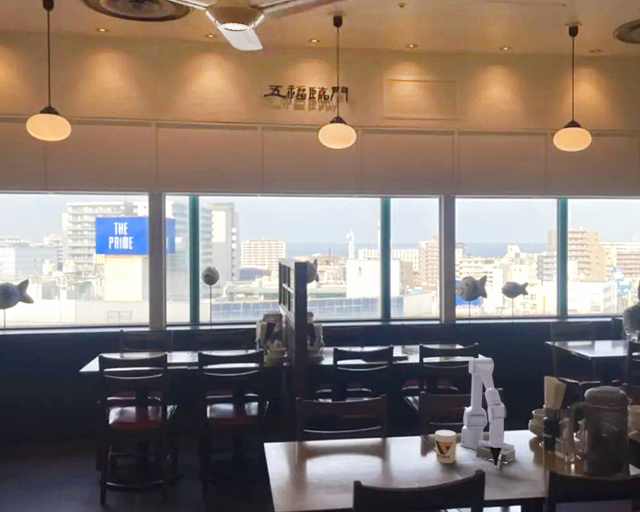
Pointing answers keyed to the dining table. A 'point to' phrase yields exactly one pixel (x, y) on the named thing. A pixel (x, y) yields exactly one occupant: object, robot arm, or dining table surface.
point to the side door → (499, 461)
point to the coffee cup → (445, 445)
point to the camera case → (486, 453)
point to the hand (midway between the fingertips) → (496, 464)
